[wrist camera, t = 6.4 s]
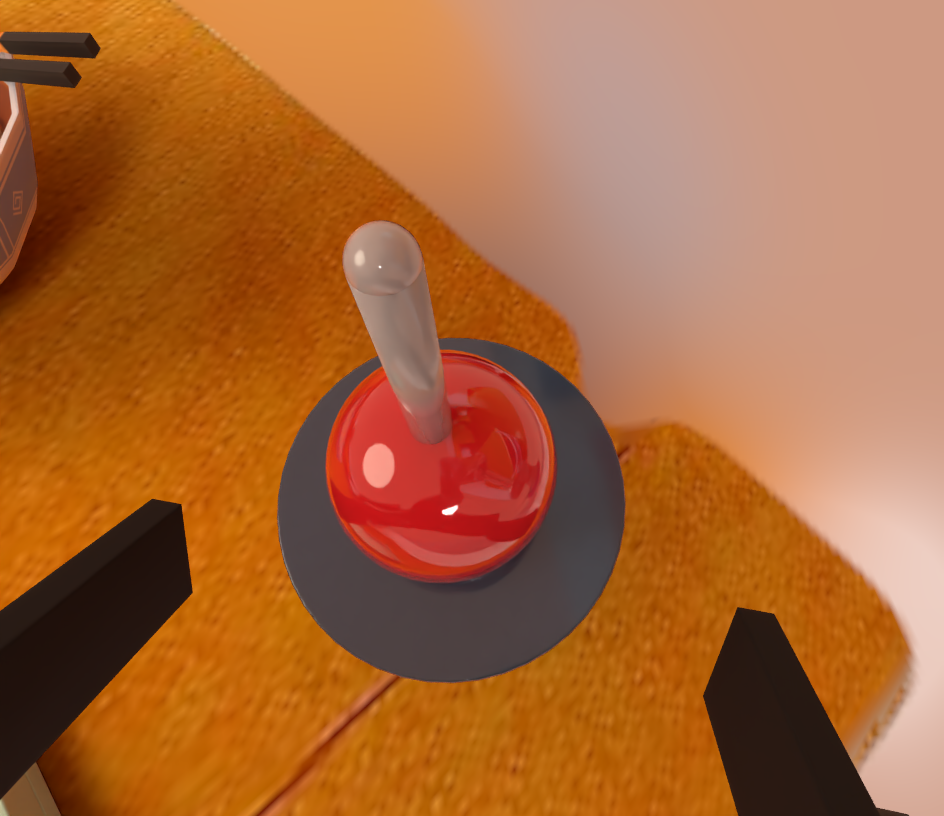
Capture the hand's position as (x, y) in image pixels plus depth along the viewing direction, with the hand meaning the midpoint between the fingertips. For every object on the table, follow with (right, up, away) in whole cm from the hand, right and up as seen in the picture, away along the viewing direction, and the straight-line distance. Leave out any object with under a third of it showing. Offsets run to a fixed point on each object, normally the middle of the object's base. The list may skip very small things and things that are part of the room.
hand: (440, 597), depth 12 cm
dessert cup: (+1, -1, +8) cm, 8 cm away
